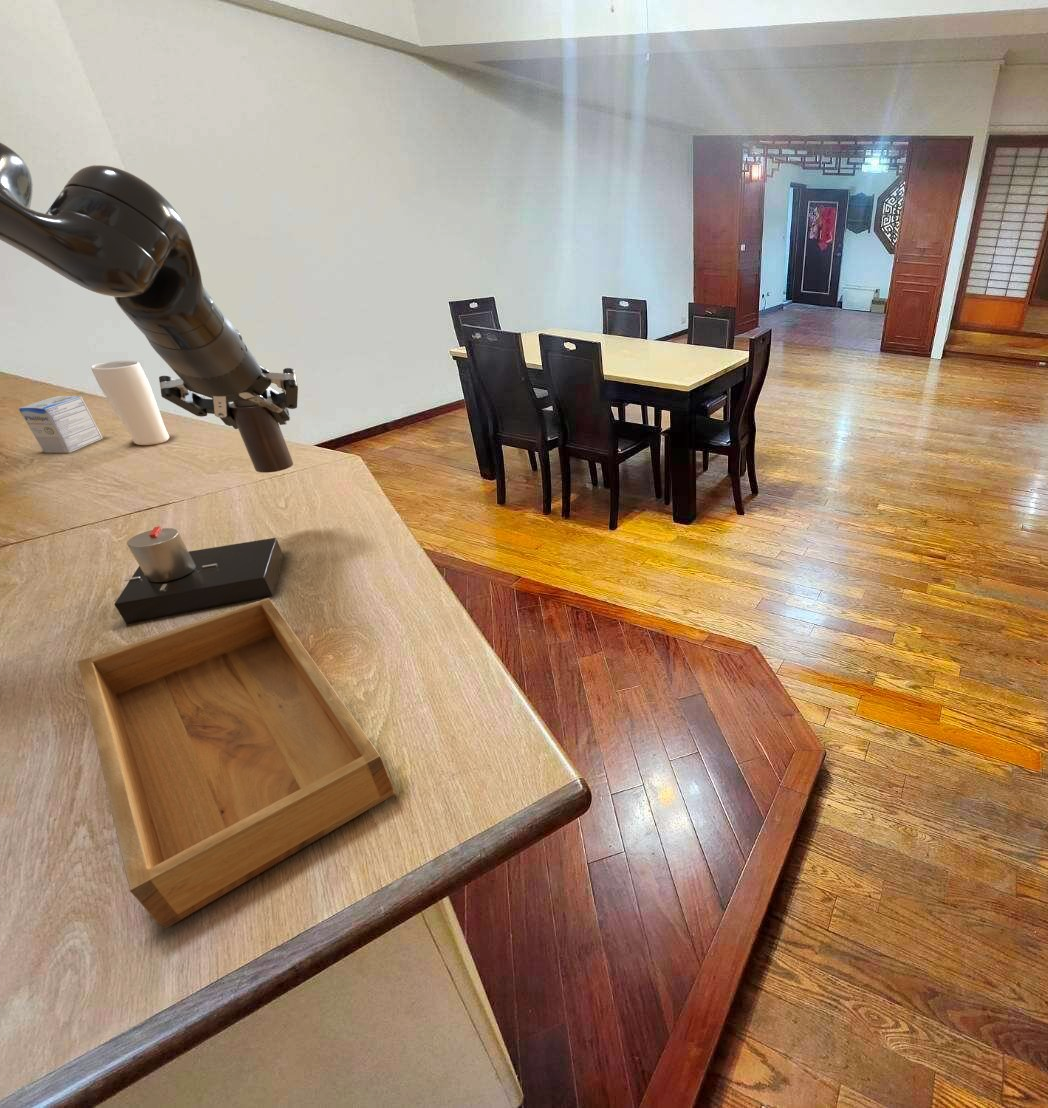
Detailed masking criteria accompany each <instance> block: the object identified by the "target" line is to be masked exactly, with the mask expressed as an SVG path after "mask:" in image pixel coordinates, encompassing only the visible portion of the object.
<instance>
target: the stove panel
mask: <svg viewBox="0 0 1048 1108" xmlns="http://www.w3.org/2000/svg"><path fill="white" fill-rule="evenodd" d="M188 552H189V554H190V556H191V557H192V559H193V561H194V563H195V565H196V567H195V569H194V570H193V571H192V572H191V573H190V574H188V575H186V576H184V577H181V578H178V579H175V580H171V581H167V582H151V581H148V580H147V578H146V576H145V575H144V573H143V571H142V569H141V568H140V566H139V565H138V567H137V568H136V570H135V572H134V573H133V575H132V576H131V577H128V578H124V580H123V581H124V582H127V584H126V585H125V587H124V588H123V590H122V591H121V592H120V595H119V596H118V598H116V601H115V602H114V606H115V608H116V610H117V611H118V613H119V614H120V616H121V618H122V619H123V621H124V623H125V624H126V625H133V624H138V623H141V622H147V621H152V620H153V621H154V620H157V619H164V618H168V617H173V616H179V615H184V614H188V613H194V612H198V611H204V610H209V609H214V608H215V609H216V608H220V607H225V606H226V607H227V606H230V605H236V604H241V603H245V602H251V601H258V600H263V599H266V598H272V597H274V593H275V589H276V585H277V582H278V578H279V575H280V571H281V568H282V564H283V560H284V557H285V555H284V553H283V550H282V548H281V546H280V544H279V541H278V538H277V537H272V538H266V539H265V538H264V539H259V540H253V541H252V540H251V541H246V542H240V543H234V544H226V545H221V546H214V547H209V548H201V549H196V550H190V551H189V550H188Z"/></svg>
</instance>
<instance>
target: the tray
mask: <svg viewBox="0 0 1048 1108" xmlns="http://www.w3.org/2000/svg"><path fill="white" fill-rule="evenodd" d="M77 665H78V670H79V674H80V678H81V683H82V687H83V693H84V696H85V701H86V704H87V709H88V713H89V719H90V722H91V726H92V730H93V735H94V738H95V742H96V746H97V747H96V748H97V752H98V756H99V760H100V764H101V769H102V773H103V778H104V782H105V787H106V792H107V797H108V802H109V805H110V810H111V814H112V818H113V823H114V827H115V833H116V837H117V842H118V846H119V851H120V854H121V858H122V863H123V868H124V872H125V877H126V880H127V885H128V889H129V892H130V893H131V894H132V895H133V896H134V898H136V900H137V901H138V902H139V903H140V904H141V906H143V908H144V909H145V910H146V912H148V914H149V915H150V916H151V917H152V918H153V920H155V922H156V923H157V924H160V925H161V926H162V927H163V928H165V929H167V928H169V927H172V926H174V925H175V924H177V923H178V922H180V921H181V920H183V919H184V918H186V917H188V916H190V915H191V914H193V913H195V912H197V911H198V910H200V909H201V908H204V907H205V906H207V905H209V904H210V903H213V902H214V901H215V900H217V899H220V897H222V896H224V895H226V894H228V893H229V892H231V891H232V890H234V889H236V888H238V887H239V886H241V885H242V884H243V885H244V883H246V882H248V881H250V880H251V879H253V878H255V877H256V876H259V875H260V874H262V873H264V871H266V870H268V869H270V868H272V867H273V866H275V865H277V864H278V863H280V862H282V861H284V860H285V859H287V858H289V857H291V856H292V855H295V853H297V852H299V851H300V850H302V849H304V848H306V847H308V846H309V845H311V844H312V843H314V842H316V841H318V840H320V839H321V838H323V837H324V836H326V835H328V834H329V833H331V832H333V831H334V830H336V829H338V828H339V827H342V826H344V824H346V823H348V822H350V821H351V820H353V819H355V818H357V817H358V816H360V815H362V814H364V813H365V812H367V811H368V810H371V809H372V808H374V807H375V806H377V805H379V804H380V803H382V802H384V801H385V800H387V799H389V798H391V797H393V796H394V795H395V790H394V787H393V784H392V783H393V782H392V780H391V778H390V776H389V773H388V770H387V768H386V765H385V763H384V760H383V759H382V756H381V754H380V753H379V752H378V750H377V748H376V747H375V745H374V744H373V743H372V741H371V740H370V738H369V737H368V736H367V734H366V733H365V731H364V730H363V729H362V727H361V726H360V724H359V723H358V721H357V720H356V718H355V717H354V716H353V714H352V712H351V711H350V710H349V708H348V707H347V706H346V704H345V703H344V701H343V700H342V698H341V697H340V695H338V693H337V691H336V690H335V689H334V687H333V685H331V683H330V682H329V680H328V679H327V678H326V676H325V674H324V673H323V672H322V670H321V668H319V666H318V664H317V663H316V662H315V660H314V659H313V658H312V656H311V654H310V653H309V652H308V650H307V649H306V648H305V646H304V644H303V643H302V642H301V641H300V639H299V637H298V636H297V635H296V633H295V632H294V630H293V629H292V627H291V626H290V625H289V623H288V622H287V620H286V618H284V617H283V615H282V614H281V613H280V611H279V610H278V608H277V607H276V605H275V604H274V603H273V601H272V599H270V597H267V598H262V599H259V600H256V601H255V602H251V603H248V604H245V605H242V606H239V607H236V608H233V609H230V610H227V611H223V612H221V613H218V614H215V615H212V616H209V617H206V618H203V619H199V620H196V621H194V622H190V623H188V624H185V625H182V626H179V627H176V628H173V629H170V630H167V631H164V632H161V633H158V634H154V635H152V636H149V637H146V638H143V639H141V640H138V641H135V642H131V643H129V644H125V645H122V646H119V647H117V648H113V649H110V650H108V651H105V652H101V653H98V654H95V655H93V656H90V657H86V658H84V659H80V660H78V661H77Z"/></svg>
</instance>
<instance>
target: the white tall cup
mask: <svg viewBox="0 0 1048 1108" xmlns="http://www.w3.org/2000/svg"><path fill="white" fill-rule="evenodd" d="M90 369H91V372H92V374H93V376H94V378H95V381H96V382H97V384H98V386H99V388H100V390H101V392H102V393H103V394H104V396H105V398H106V399H107V401H108V402H109V404H110V406H111V407H112V409H113V411H115V413H116V415H117V416H118V418H119V420H120V421H121V423H122V425H123V426H124V427H125V429H126V431H127V432H128V434H129V436H130V438H131V440H132V442H133V443H134V444H136V445H138V446H152V445H153V446H154V445H157V444H162V443H165V442H167V441H168V440H169V439H170V435H169V433H168V431H167V428H166V425H165V422H164V419H163V418H162V414H161V411H160V409H159V406H158V403H157V401H156V398H155V395H154V392H153V389H152V386H151V384H150V382H149V381H150V380H149V379H148V377H147V375H146V372H145V371H144V368H143V367H142V365H141V363H140V362H139V361H137V360H113V361H112V360H111V361H105V362H100V363H99V362H98V363H95V364H92V365H91V366H90Z"/></svg>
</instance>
